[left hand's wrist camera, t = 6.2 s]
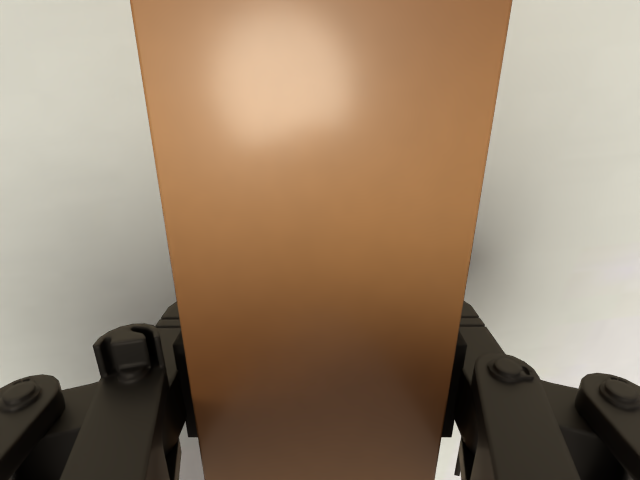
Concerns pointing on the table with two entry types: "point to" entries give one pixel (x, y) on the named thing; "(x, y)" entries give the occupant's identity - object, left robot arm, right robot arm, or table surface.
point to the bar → (320, 220)
